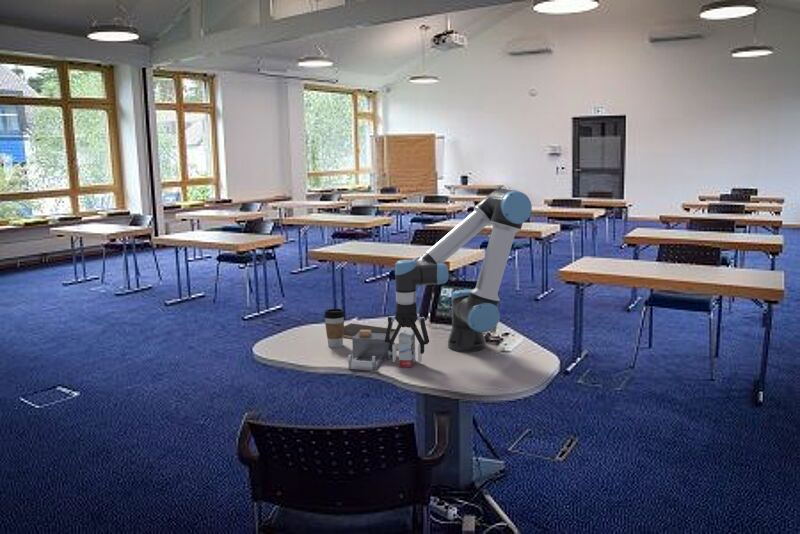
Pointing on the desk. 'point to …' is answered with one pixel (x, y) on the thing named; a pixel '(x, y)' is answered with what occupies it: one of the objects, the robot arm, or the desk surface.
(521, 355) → the desk surface
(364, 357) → the motor block
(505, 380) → the desk surface
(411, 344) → the ink box
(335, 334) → the coffee cup
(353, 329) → the hardcover book
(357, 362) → the clip bracket
